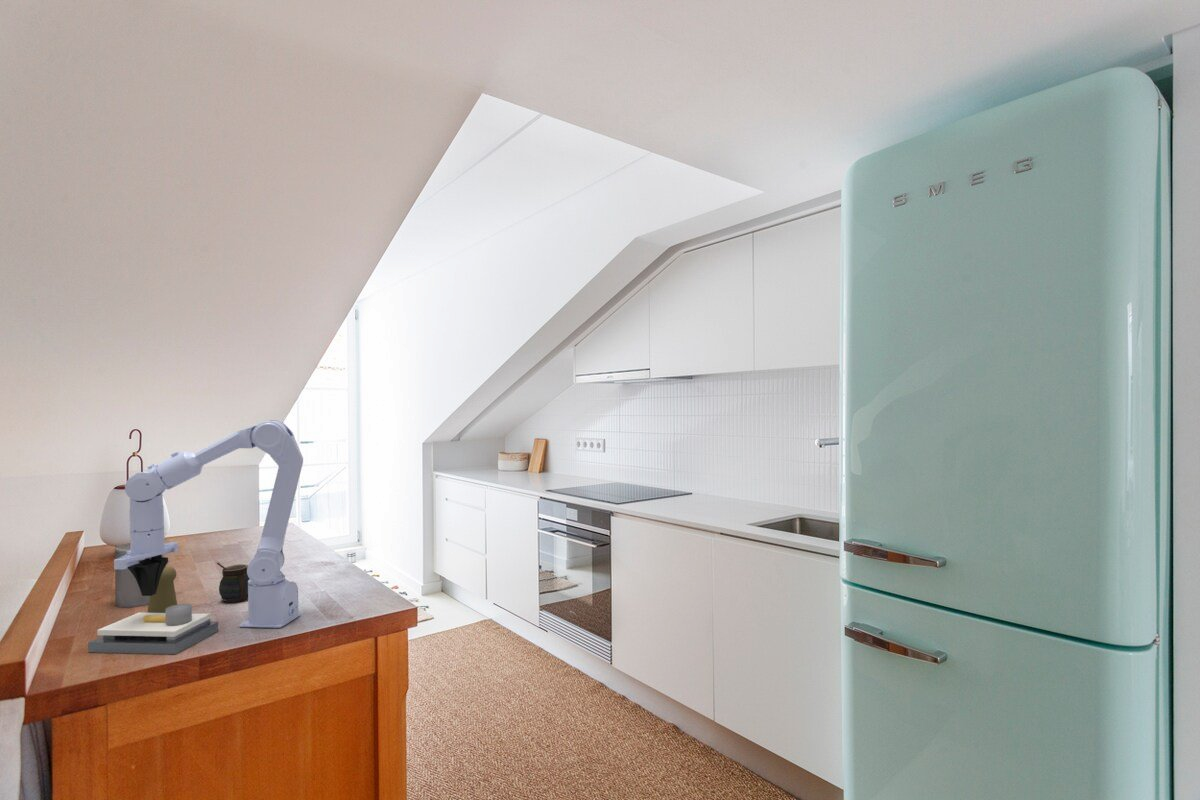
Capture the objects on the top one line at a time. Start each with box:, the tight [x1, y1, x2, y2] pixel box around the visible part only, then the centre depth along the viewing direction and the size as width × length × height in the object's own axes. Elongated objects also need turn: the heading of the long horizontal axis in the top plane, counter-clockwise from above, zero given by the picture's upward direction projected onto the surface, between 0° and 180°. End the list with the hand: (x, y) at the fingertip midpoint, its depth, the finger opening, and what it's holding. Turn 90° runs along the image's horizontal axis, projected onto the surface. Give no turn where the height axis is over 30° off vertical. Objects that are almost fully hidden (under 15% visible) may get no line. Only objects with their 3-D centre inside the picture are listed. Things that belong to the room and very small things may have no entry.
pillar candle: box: [114, 542, 165, 608], centre depth 153 cm, size 10×10×15 cm
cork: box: [146, 566, 178, 613], centre depth 142 cm, size 6×6×11 cm
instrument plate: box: [96, 603, 211, 637], centre depth 127 cm, size 16×10×4 cm, turn 85°
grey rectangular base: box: [87, 618, 219, 655], centre depth 127 cm, size 18×12×3 cm, turn 85°
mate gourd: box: [216, 562, 249, 603], centre depth 153 cm, size 7×8×10 cm
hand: (148, 594), depth 130 cm, fingers closed
